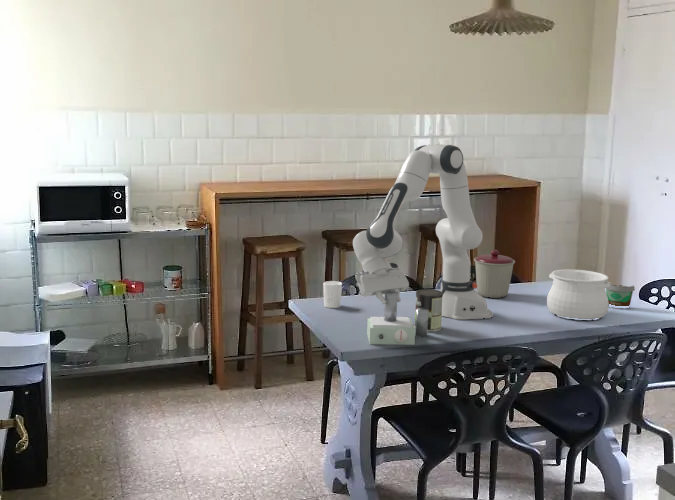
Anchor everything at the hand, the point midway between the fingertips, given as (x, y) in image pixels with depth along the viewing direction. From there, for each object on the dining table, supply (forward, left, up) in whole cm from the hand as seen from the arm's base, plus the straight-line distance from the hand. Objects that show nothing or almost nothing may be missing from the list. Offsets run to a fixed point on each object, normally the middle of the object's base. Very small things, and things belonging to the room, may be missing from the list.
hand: (392, 302), depth 282 cm
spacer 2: (-12, -5, -14) cm, 19 cm away
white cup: (+20, -46, -14) cm, 52 cm away
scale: (0, 0, -14) cm, 14 cm away
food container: (-103, -49, -14) cm, 114 cm away
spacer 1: (0, -1, -7) cm, 7 cm away
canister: (-53, -68, -14) cm, 87 cm away
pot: (-81, -37, -14) cm, 90 cm away
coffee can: (-16, -15, -14) cm, 26 cm away
